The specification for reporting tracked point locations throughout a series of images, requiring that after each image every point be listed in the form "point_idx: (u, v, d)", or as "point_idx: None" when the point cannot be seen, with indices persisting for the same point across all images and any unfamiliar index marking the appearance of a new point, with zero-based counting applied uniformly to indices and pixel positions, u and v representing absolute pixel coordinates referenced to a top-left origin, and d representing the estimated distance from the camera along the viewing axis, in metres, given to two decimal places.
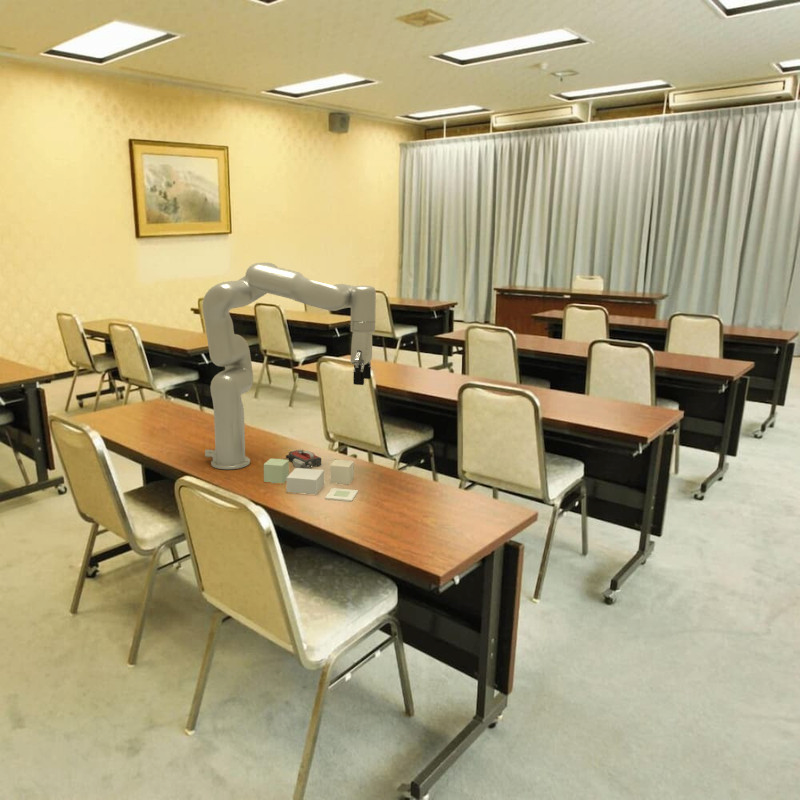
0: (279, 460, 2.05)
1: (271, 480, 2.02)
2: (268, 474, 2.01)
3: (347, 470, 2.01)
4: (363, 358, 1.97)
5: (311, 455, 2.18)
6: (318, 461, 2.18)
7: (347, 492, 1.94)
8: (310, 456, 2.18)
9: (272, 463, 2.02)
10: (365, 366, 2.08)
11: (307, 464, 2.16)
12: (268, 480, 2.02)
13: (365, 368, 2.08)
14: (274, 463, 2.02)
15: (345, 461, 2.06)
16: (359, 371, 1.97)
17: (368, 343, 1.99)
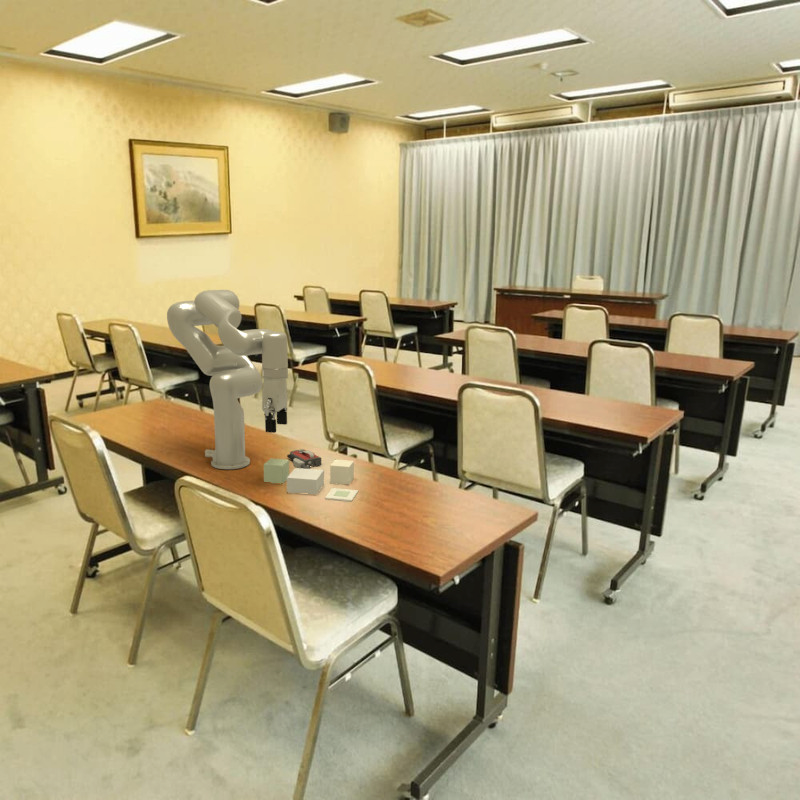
0: (279, 460, 2.05)
1: (271, 480, 2.02)
2: (268, 474, 2.01)
3: (347, 470, 2.01)
4: (274, 406, 1.94)
5: (311, 455, 2.18)
6: (318, 461, 2.18)
7: (347, 492, 1.94)
8: (310, 456, 2.18)
9: (272, 463, 2.02)
10: (281, 412, 2.04)
11: (307, 464, 2.16)
12: (268, 480, 2.02)
13: (281, 414, 2.04)
14: (274, 463, 2.02)
15: (345, 461, 2.06)
16: (270, 419, 1.94)
17: (280, 390, 1.95)
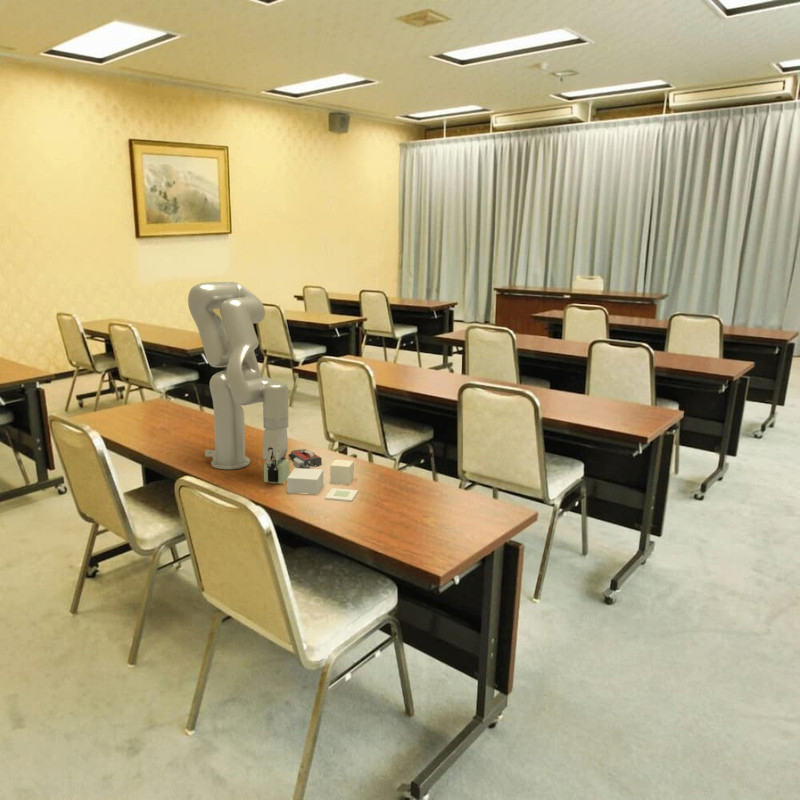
0: (279, 460, 2.05)
1: None
2: None
3: (347, 470, 2.01)
4: (275, 458, 1.98)
5: (311, 455, 2.19)
6: (318, 461, 2.18)
7: (347, 492, 1.94)
8: (310, 456, 2.18)
9: None
10: None
11: (306, 463, 2.17)
12: None
13: None
14: (274, 463, 2.02)
15: (345, 461, 2.06)
16: (273, 470, 1.99)
17: (280, 439, 1.99)
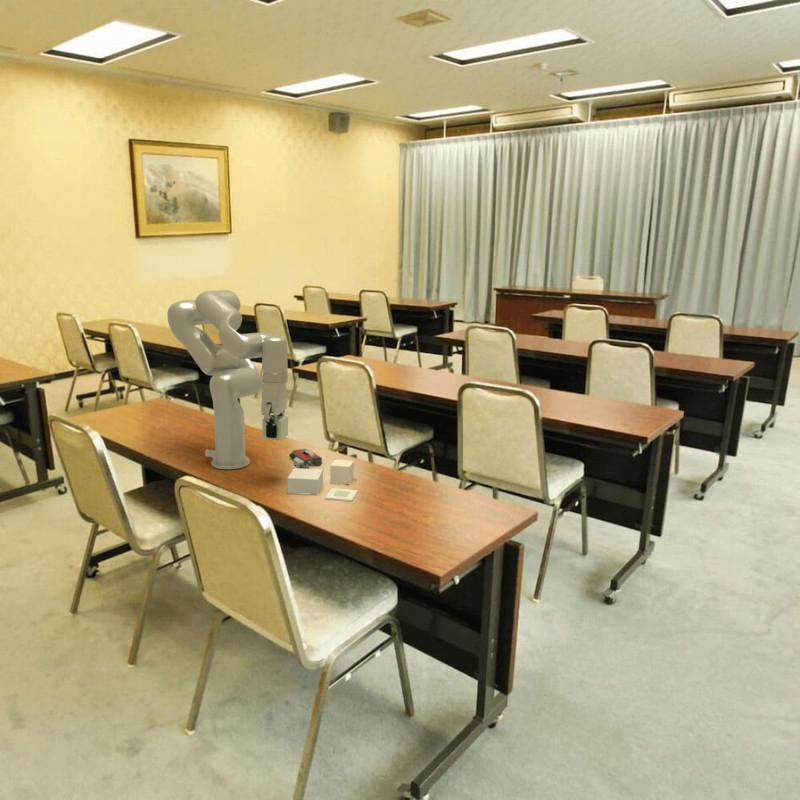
0: (277, 417, 2.02)
1: None
2: None
3: (347, 470, 2.01)
4: (274, 413, 1.95)
5: (311, 455, 2.19)
6: (318, 461, 2.18)
7: (347, 492, 1.94)
8: (310, 455, 2.18)
9: None
10: None
11: (306, 463, 2.17)
12: None
13: None
14: None
15: (345, 461, 2.06)
16: (271, 425, 1.96)
17: (279, 394, 1.96)
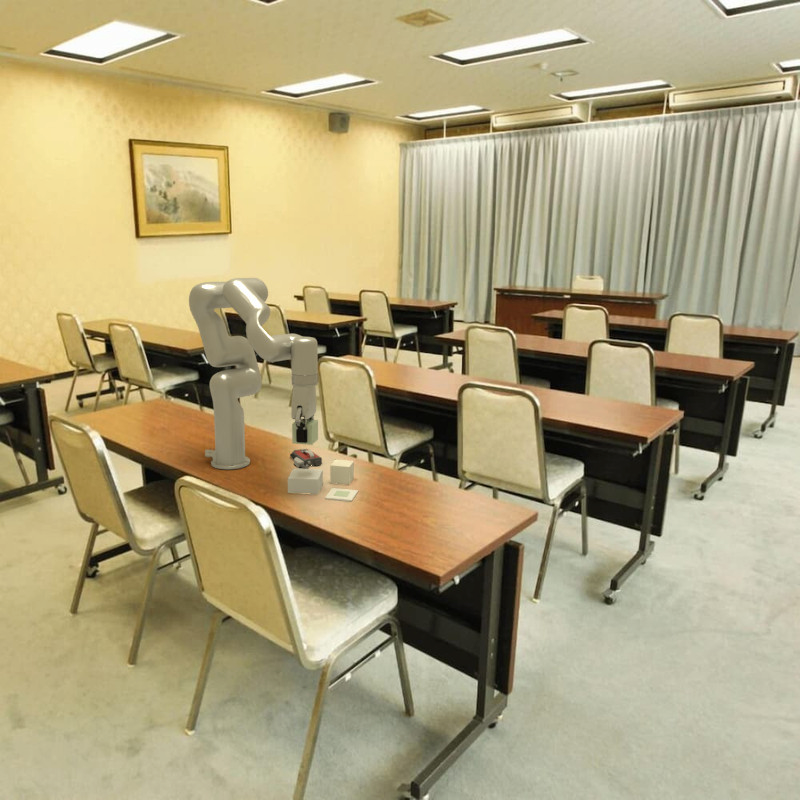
0: (307, 420, 1.95)
1: None
2: None
3: (347, 470, 2.01)
4: (304, 416, 1.88)
5: (311, 455, 2.19)
6: (318, 461, 2.18)
7: (347, 492, 1.94)
8: (310, 456, 2.18)
9: None
10: None
11: (306, 463, 2.17)
12: None
13: None
14: (303, 423, 1.92)
15: (345, 461, 2.06)
16: (302, 429, 1.89)
17: (310, 397, 1.89)
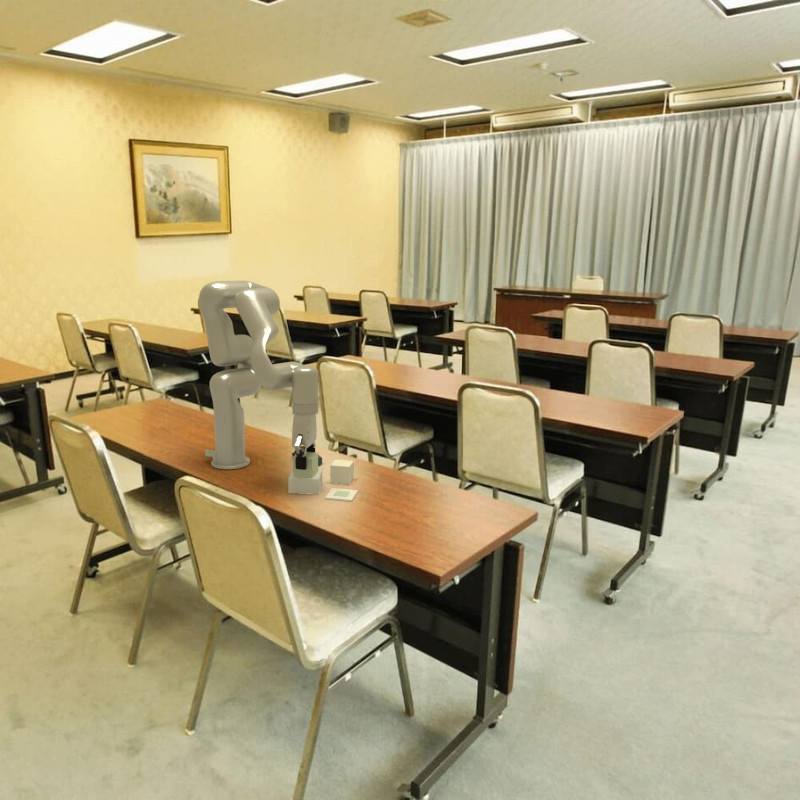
0: (308, 453, 1.97)
1: (300, 474, 1.94)
2: None
3: (347, 470, 2.01)
4: (304, 443, 1.90)
5: None
6: (318, 461, 2.18)
7: (347, 492, 1.94)
8: None
9: None
10: (309, 447, 2.00)
11: None
12: (297, 474, 1.94)
13: (309, 449, 2.00)
14: None
15: (345, 461, 2.06)
16: (301, 456, 1.90)
17: (310, 426, 1.91)
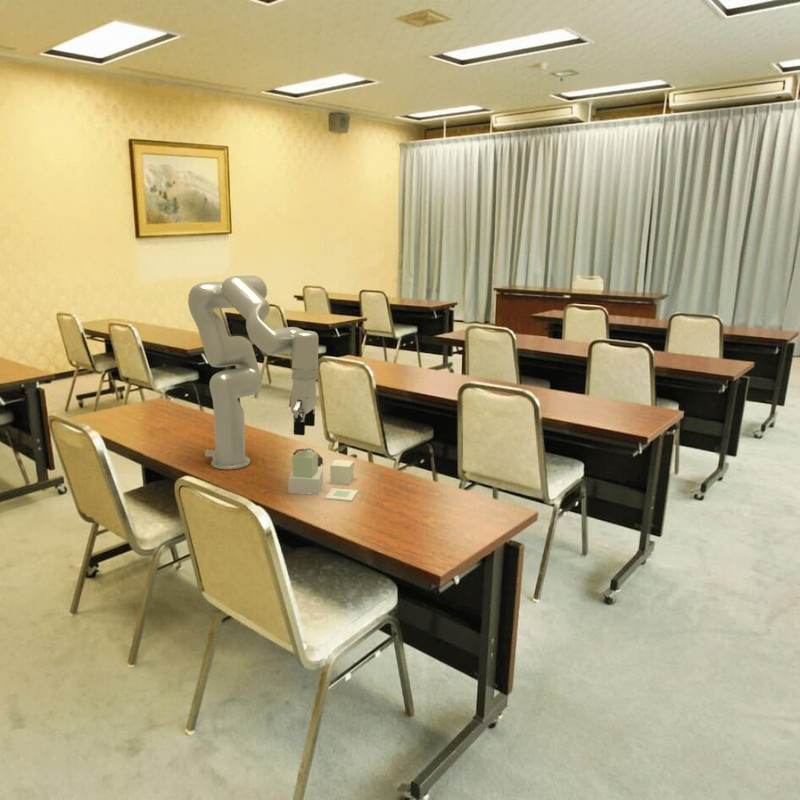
0: (307, 453, 1.97)
1: (300, 473, 1.94)
2: (297, 467, 1.94)
3: (347, 470, 2.01)
4: (304, 408, 1.87)
5: None
6: (318, 461, 2.19)
7: (347, 492, 1.94)
8: None
9: (301, 455, 1.95)
10: (309, 413, 1.98)
11: None
12: (297, 473, 1.94)
13: (309, 415, 1.98)
14: (303, 456, 1.94)
15: (345, 461, 2.06)
16: (299, 421, 1.87)
17: (309, 391, 1.89)
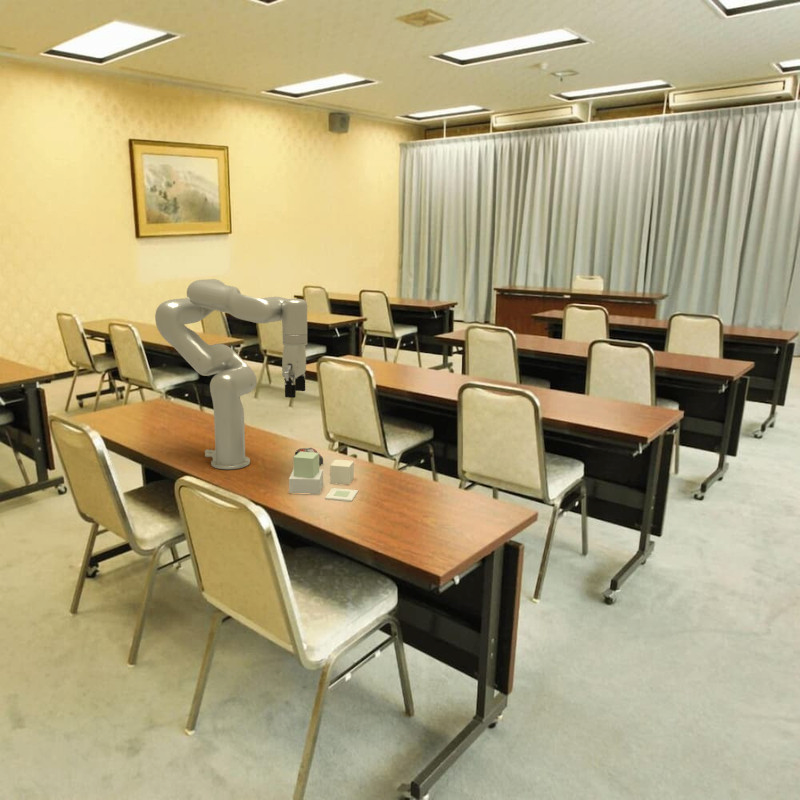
0: (309, 453, 1.97)
1: (301, 474, 1.94)
2: (298, 467, 1.94)
3: (347, 470, 2.01)
4: (294, 371, 1.98)
5: None
6: None
7: (347, 492, 1.94)
8: None
9: (302, 456, 1.95)
10: (299, 378, 2.08)
11: None
12: (298, 474, 1.94)
13: (299, 380, 2.08)
14: (304, 456, 1.94)
15: (345, 461, 2.06)
16: (290, 384, 1.98)
17: (299, 356, 1.99)
